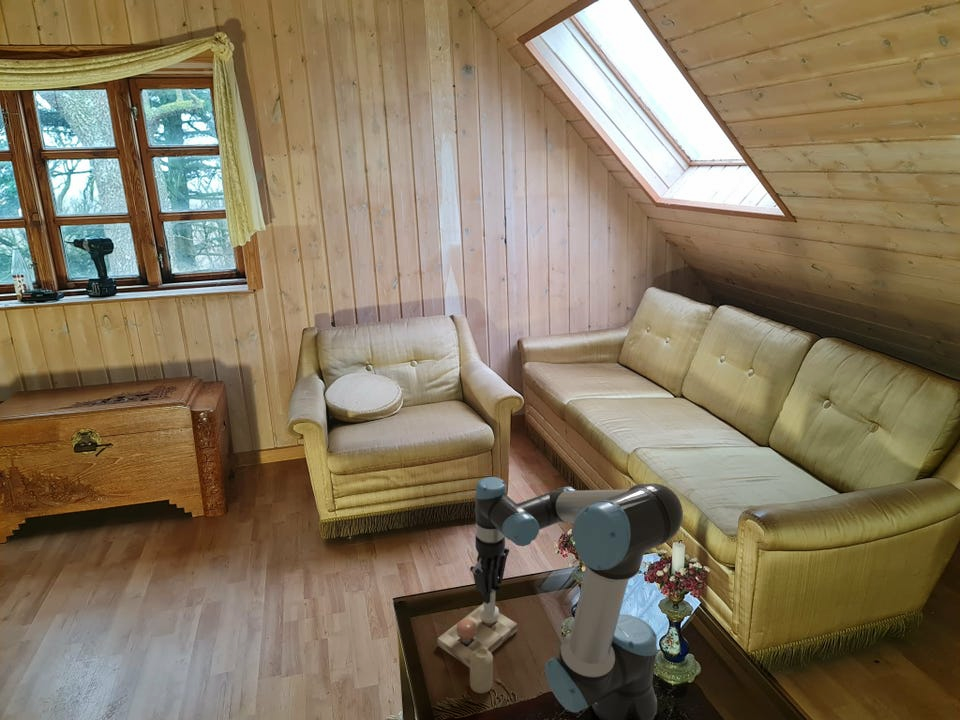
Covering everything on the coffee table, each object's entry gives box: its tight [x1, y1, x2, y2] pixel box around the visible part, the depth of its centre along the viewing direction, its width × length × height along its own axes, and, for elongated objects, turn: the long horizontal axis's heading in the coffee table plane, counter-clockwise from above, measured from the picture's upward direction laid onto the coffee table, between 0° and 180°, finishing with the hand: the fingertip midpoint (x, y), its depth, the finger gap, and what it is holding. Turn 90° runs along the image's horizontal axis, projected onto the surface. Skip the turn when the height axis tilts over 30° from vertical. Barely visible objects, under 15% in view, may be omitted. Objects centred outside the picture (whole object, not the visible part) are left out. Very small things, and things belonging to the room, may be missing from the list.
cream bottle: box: [469, 648, 494, 694], centre depth 172 cm, size 6×6×10 cm
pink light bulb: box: [456, 618, 476, 645], centre depth 184 cm, size 5×5×5 cm
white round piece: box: [480, 605, 500, 628], centre depth 190 cm, size 5×5×5 cm
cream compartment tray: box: [437, 602, 518, 669], centre depth 188 cm, size 12×18×2 cm, turn 138°
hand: (489, 609), depth 189 cm, fingers closed
